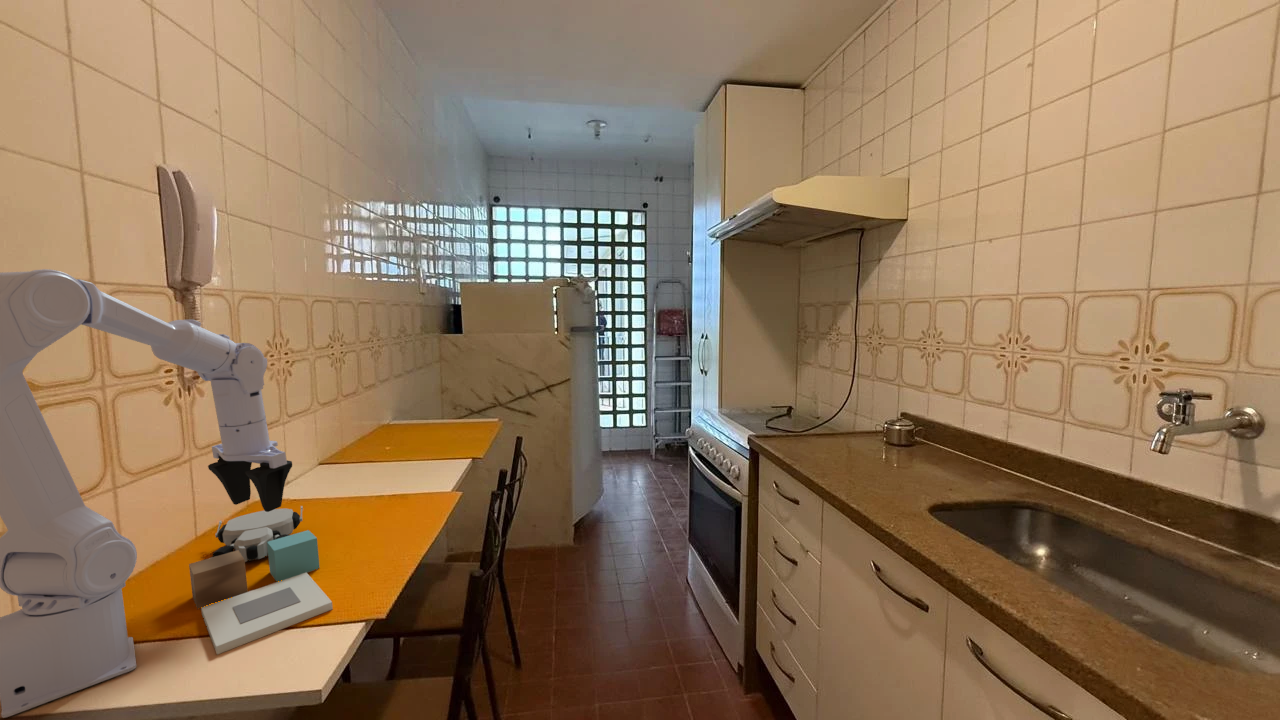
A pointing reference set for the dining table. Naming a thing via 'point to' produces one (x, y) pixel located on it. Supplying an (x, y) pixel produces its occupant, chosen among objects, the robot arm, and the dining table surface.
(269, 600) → the build plate
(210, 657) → the dining table surface
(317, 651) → the dining table surface
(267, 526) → the robot toy
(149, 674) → the dining table surface
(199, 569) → the walnut brick
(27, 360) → the robot arm
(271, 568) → the teal brick
